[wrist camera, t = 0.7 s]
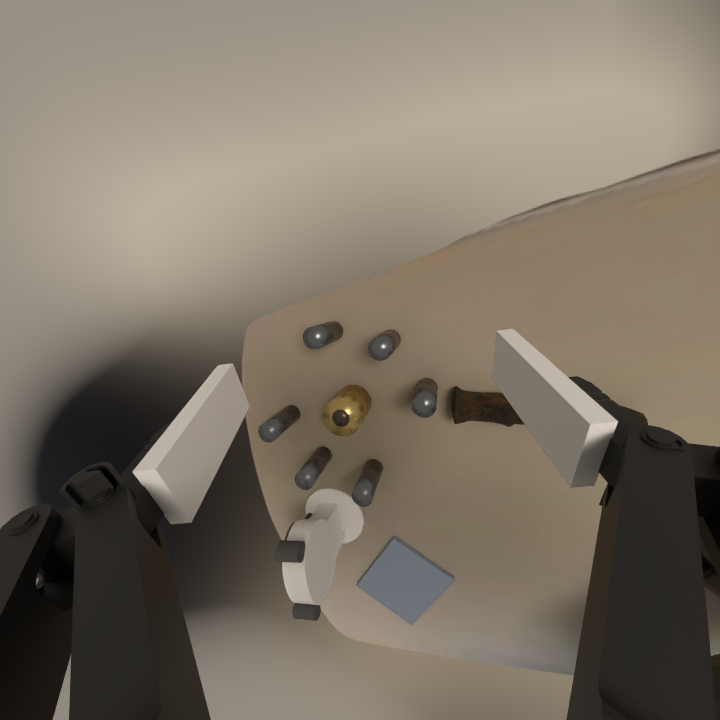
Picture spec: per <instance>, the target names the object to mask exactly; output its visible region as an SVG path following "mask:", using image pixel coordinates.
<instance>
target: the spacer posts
mask: <svg viewBox="0 0 720 720" xmlns="http://www.w3.org/2000/svg"><path fill="white" fill-rule="evenodd" d="M342 334H343V328H342V326H341V325H340V324H339V323H338V322H335V321H332V322H328V323H325V324H321V325H317V326H313V327H309V328H307V329H306V330H305V332H304V334H303V341H304V343H305V345H306V346H307V347H309V348H311V349H318V348H320V347H322V346H324V345H327V344H329V343H331V342H333V341H336V340H338V339H340V338H341V336H342ZM400 341H401V338H400V335H399V334H398V332H396V331H395V330H387V331H385V332H383V333H382V334H380V335H379V336H377V337H376V338H374V339H373V340H372V341H371V342H370V344H369V353H370V355H371V356H372V357H373V358H374V359H376V360H385V359H387V358H388V357H389V356H390V355H391V354H392V353H393V351H394V350H395V349H396V348H397V347H398V346H399V344H400ZM436 401H437V384H436V382H435V381H434V380H432V379H430V378H424V379H422V380H420V381H419V383H418V385H417V389H416V392H415V396H414V399H413V402H412V409H413V411H414V413H415V414H416V415H418V416H419V417H423V418H426V417H430V416H432V415H433V414H434V412H435V410H436ZM299 417H300V412H299V410H298V408H297V407H295V406H293V405H289V406H287V407H286V408H284V409H283V410H282V411H280V412H279V413H277V414H276V415H275V416H273V417H272V418H271V419H269V420H268V421H266V422H265V423H264V424H262V425H261V426H260V427H259V430H258V433H259V436H260V438H261V439H262V440H263V441H265V442H272V441H274V440H275V439H276V438H277V437H278V436H280V435H281V434H282V433H283V432H284V431H285V430H286V429H288V428H289V427H290V426H291V425H292V424H293V423H294V422H296V421H297V420H298V419H299ZM331 457H332V454H331V451H330V450H329V449H328V448H326V447H319V448H318V449H317V450H316V451H315V452H314V454H313V455H312V456H311V457H310V458H309V460H308V461H307V462H306V463H305V465H304V466H303V467H302V468H301V470H300V471H299V472H298V473H297V474H296V476H295V482H296V484H297V486H298V487H299V488H301V489H303V490H309V489H310V488H311V487H312V486H313V484H314V483H315V482H316V480H317V479H318V477H319V476H320V474H321V473H322V471H323V470H324V468H325V467H326V465H327V464H328V462H329V461H330V460H331ZM382 470H383V467H382V464H381V463H380V462H379V461H378V460H375V459H370V460H368V461H367V462H366V464H365V466H364V469H363V471H362V473H361V475H360V477H359V480H358V482H357V484H356V486H355V488H354V490H353V493H352V499H353V501H354V502H355V503H356V504H357V505H359V506H362V507H366V506H368V505H370V504H371V501H372V499H373V496H374V493H375V490H376V487H377V484H378V481H379V479H380V476H381V473H382Z"/></svg>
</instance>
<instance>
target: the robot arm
mask: <svg viewBox="0 0 720 720" xmlns="http://www.w3.org/2000/svg"><path fill="white" fill-rule="evenodd" d="M492 379H493V381H494V382H495V384H496V385H497V386H498V388H499V389H500V391H501V392H502V393H503V395H504V396H505V397H506V399H507V400H508V402H509V403H510V404H511V406H512V407H513V409H514V410H515V411H516V413H517V414H518V416H519V417H520V418H521V420H522V421H523V422H524V424H525V425H526V427H527V428H528V429H529V431H530V432H531V434H532V435H533V436H534V438H535V439H536V441H537V442H538V443H539V445H540V446H541V447H542V449H543V450H544V452H545V453H546V454H547V456H548V457H549V459H550V460H551V461H552V463H553V464H554V465H555V467H556V468H557V470H558V471H559V472H560V474H561V475H562V477H563V478H564V479H565V481H566V482H567V484H568V485H569V486H570V488H571V487H582V486H593V485H595V482H596V480H597V477H598V474H599V473H600V474H601V475H602V476H603V477H604V479H605V480H606V481H607V482H608V484H607V486H606V489H605V491H604V494H603V496H602V499H601V501H600V504H599V505H601V506H602V512H601V518H600V524H599V530H598V535H597V541H596V547H595V553H594V559H593V565H592V571H591V577H590V583H589V589H588V595H587V601H586V607H585V613H584V619H583V625H582V631H581V637H580V643H579V649H578V655H577V661H576V667H575V673H574V679H573V685H572V691H571V697H570V702H569V708H568V714H567V720H720V654H718V655H713V656H711V654H710V643H709V633H708V622H707V611H706V601H705V590H704V585H705V586H706V587H707V588H708V589H709V590H711V591H712V592H713V593H714V594H716V595H717V596H718V597H720V447H715V446H706V445H698V444H689V443H687V442H686V441H685V440H684V439H683V438H681V437H680V436H678V435H676V434H674V433H673V432H671V431H668V430H665V429H663V428H660V427H655V426H649V425H642V424H641V423H640V422H639V421H637V420H636V419H635V418H634V417H633V416H631V415H630V414H629V413H628V412H626V411H625V410H624V409H623V408H621V407H620V406H619V405H618V404H617V403H615V402H614V401H613V400H612V401H611V399H610V398H609V397H608V396H607V395H606V394H604V393H602V391H601V390H599V389H598V388H597V387H596V386H595V385H593V384H592V383H590V382H588V381H586V380H584V379H582V378H580V377H577V376H576V377H567V376H566V375H565V374H564V373H562V372H561V371H560V370H559V369H558V368H557V367H556V366H555V365H553V364H552V363H551V362H550V361H549V360H548V359H547V358H545V357H544V356H543V355H542V354H541V353H540V352H539V351H537V350H536V349H535V348H534V347H533V346H532V345H531V344H530V343H528V342H527V341H526V340H525V339H524V338H523V337H522V336H520V335H519V334H518V333H517V332H516V331H515V330H514V329H508V330H499V331H497V332H496V342H495V352H494V363H493V373H492ZM249 407H250V406H249V403H248V401H247V398H246V396H245V393H244V391H243V388H242V386H241V383H240V381H239V378H238V376H237V373H236V371H235V368H234V366H233V364H224V365H218V366H217V367H216V369H215V370H214V371H213V372H212V373H211V375H210V376H209V377H208V378H207V380H206V381H205V382H204V383H203V385H202V386H201V387H200V388H199V390H198V391H197V392H196V393H195V395H194V396H193V397H192V399H191V400H190V401H189V402H188V403H187V405H186V406H185V407H184V408H183V409H182V411H181V412H180V413H179V414H178V416H177V417H176V418H175V419H174V421H173V422H172V423H168V424H167V425H166V426H164V427H163V428H162V429H160V430H159V431H158V432H156V434H155V435H154V436H153V437H152V438H151V440H150V441H149V444H147V445H146V446H145V447H144V448H143V449H142V452H140V453H139V454H138V455H137V456H136V458H135V459H134V460H133V461H132V462H131V464H130V465H129V466H128V467H127V468H126V470H125V471H124V472H123V473H122V474H121V476H120V475H119V474H118V473H117V472H116V470H115V469H114V467H113V466H112V465H111V464H110V463H108V462H101V463H96V464H94V465H91V466H88V467H86V468H85V469H83V470H81V471H79V472H78V473H76V474H75V475H74V476H72V477H71V478H70V479H68V481H67V482H66V483H65V484H64V485H63V486H62V488H61V491H60V494H62V496H63V497H65V499H66V500H67V501H68V502H69V503H70V504H71V505H72V506H73V507H71V508H68V509H66V510H62V511H60V512H56V511H55V510H54V509H53V508H52V507H51V506H50V505H49V504H40V505H36V506H33V507H31V508H29V509H27V510H24V511H22V512H21V513H19V514H18V515H16V516H14V517H13V518H11V519H10V521H8V522H7V523H6V524H5V525H4V526H2V528H1V529H0V720H52V719H53V716H54V712H55V708H56V705H57V701H58V698H59V694H60V691H61V688H62V684H63V680H64V677H65V673H66V670H67V666H68V663H69V659H70V656H71V682H70V709H69V720H211V719H210V715H209V711H208V707H207V704H206V700H205V696H204V692H203V688H202V684H201V680H200V676H199V673H198V669H197V665H196V661H195V657H194V654H193V649H192V645H191V642H190V638H189V634H188V630H187V626H186V622H185V619H184V615H183V610H182V607H181V603H180V599H179V595H178V591H177V587H176V584H175V580H174V576H173V572H172V568H171V564H170V560H169V556H168V553H167V549H166V545H165V541H164V537H163V533H162V530H161V528H160V527H159V526H158V522H159V521H160V519H161V517H162V515H163V514H164V515H165V517H166V518H167V520H168V521H169V522H170V524H179V523H189V522H192V519H193V518H194V516H195V514H196V512H197V510H198V508H199V506H200V504H201V502H202V500H203V498H204V496H205V494H206V492H207V490H208V488H209V486H210V484H211V482H212V480H213V478H214V476H215V474H216V472H217V470H218V468H219V466H220V464H221V462H222V460H223V458H224V456H225V454H226V453H227V451H228V449H229V447H230V445H231V443H232V440H233V439H234V437H235V435H236V433H237V431H238V429H239V427H240V424H241V423H242V421H243V419H244V417H245V415H246V413H247V411H248V409H249ZM36 578H39V582H38V584H37V586H36Z"/></svg>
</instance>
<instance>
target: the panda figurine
mask: <svg viewBox="0 0 720 720" xmlns="http://www.w3.org/2000/svg"><path fill="white" fill-rule="evenodd" d="M305 511H306V518H305V519H300V520H298V521H296V522H294V523H292V525H291V526H290V528H289V530H288V532H287V534H286V537H285V540H282V541H280V542H279V544H278V546H277V549H276V554H275V557H276V561H277V562H282V570H283V579H284V584H285V587H286V590H287V593H288V595H289V598H290V599H291V601H292V602H294V603H295V605H294V606H293V610H292V613H293V617H294V618H296V619H305V620H315V621H316V620H318V618H319V616H320V611H321V609H320V605H321V604H322V603H323V602H324V600H325V599H326V597H327V595H328V593H329V591H330V589H331V586H332V583H333V579H334V573H335V563H336V558H337V555H338V553H339V551H340V548H341V546H342V543H348V542H351V541H353V540H355V539H356V538H357V537H358V536H359V535H360V534H361V532H362V529H363V526H364V517H363V513H362V510H361V508H360V506H359V505H357V504H356V503H355V502H354V501H353V499H352V497H351V496H350V495H348V494H347V493H345V492H343V491H341V490H338V489H334V488H323V489H319V490H317V491H315V492H314V493H313V494H312V495H311V496H310V497H309V499H308V500H307V503H306V508H305Z"/></svg>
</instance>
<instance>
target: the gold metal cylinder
mask: <svg viewBox="0 0 720 720" xmlns="http://www.w3.org/2000/svg"><path fill="white" fill-rule="evenodd" d="M370 408H371V398H370V395H369V394H368V392H367V391H366V390H365V389H364V388H362V387H360V386H357V385H349V386H347V387H345V388H344V389H342V390H341V391H340V392H339V393H338V394H337V395H336V396H335V397H334V398H333V399H332V400H331V401H330V402H329V403H328V404H327V405H326V406H325V408H324V410H323V421H324V424H325V426H326V427H327V428H328V430H330V431H331V432H332V433H334V434H336V435H338V436H349V435H351V434H353V433H354V432H355V431H356V430H357V429H358V427H359V426H360V424H361V423H362V421H363V419H364V418H365V416H366V415H367V413H368V412H369V410H370Z"/></svg>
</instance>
